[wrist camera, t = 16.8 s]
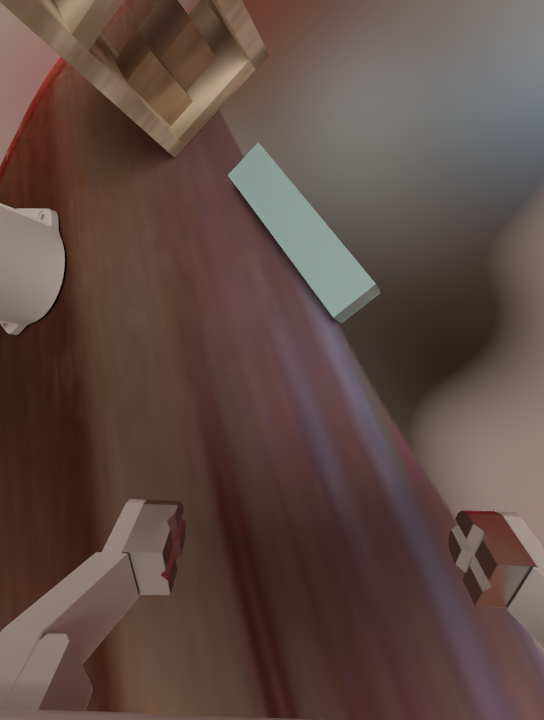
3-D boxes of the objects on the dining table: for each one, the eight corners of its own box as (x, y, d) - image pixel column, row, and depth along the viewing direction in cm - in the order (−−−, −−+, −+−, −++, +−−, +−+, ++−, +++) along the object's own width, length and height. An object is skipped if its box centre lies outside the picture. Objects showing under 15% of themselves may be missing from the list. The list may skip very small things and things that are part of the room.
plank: (241, 189, 34) (227, 175, 32) (270, 159, 33) (258, 142, 31) (341, 323, 29) (333, 317, 26) (380, 292, 27) (375, 284, 25)
